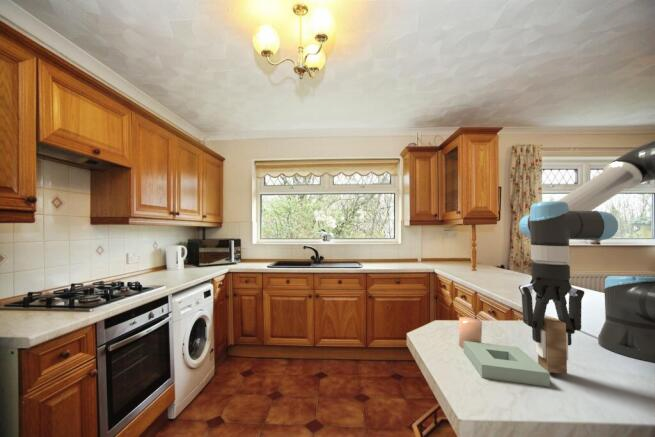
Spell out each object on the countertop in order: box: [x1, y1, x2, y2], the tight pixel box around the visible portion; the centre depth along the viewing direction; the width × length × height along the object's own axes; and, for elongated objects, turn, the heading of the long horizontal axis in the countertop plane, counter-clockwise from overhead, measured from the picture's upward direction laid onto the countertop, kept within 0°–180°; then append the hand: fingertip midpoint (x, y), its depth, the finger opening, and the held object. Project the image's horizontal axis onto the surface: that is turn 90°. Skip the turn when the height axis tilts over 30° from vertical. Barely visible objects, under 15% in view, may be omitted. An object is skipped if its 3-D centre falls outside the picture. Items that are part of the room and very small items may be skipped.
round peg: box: [458, 316, 483, 350], centre depth 79 cm, size 6×6×8 cm
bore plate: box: [463, 341, 551, 388], centre depth 67 cm, size 14×14×3 cm
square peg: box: [537, 316, 568, 375], centre depth 65 cm, size 4×4×12 cm
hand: (551, 356), depth 65 cm, fingers closed on square peg, 4 cm apart
